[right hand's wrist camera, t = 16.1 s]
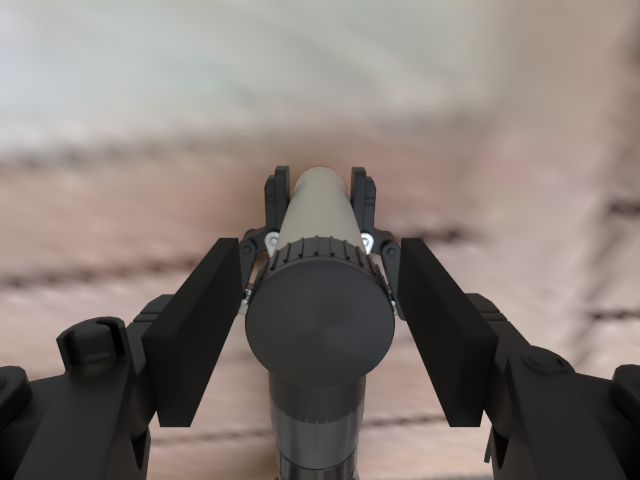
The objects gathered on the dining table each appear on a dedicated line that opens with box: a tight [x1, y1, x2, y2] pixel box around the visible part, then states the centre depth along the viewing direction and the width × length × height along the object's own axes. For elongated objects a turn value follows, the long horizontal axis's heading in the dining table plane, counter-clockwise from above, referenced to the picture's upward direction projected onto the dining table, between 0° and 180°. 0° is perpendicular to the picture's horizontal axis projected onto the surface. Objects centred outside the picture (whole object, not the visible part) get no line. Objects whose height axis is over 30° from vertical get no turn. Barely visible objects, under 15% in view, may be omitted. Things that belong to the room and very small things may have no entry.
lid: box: [245, 235, 395, 388], centre depth 11 cm, size 5×5×2 cm
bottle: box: [272, 166, 368, 256], centre depth 20 cm, size 4×4×18 cm
